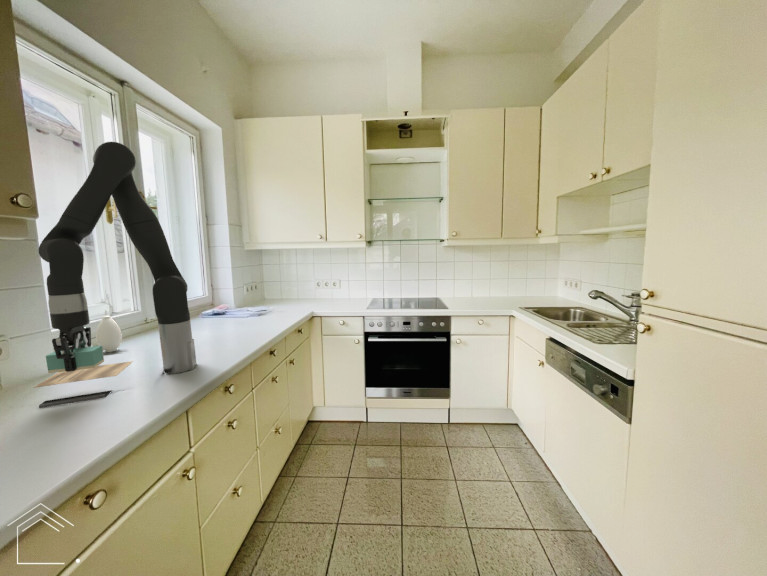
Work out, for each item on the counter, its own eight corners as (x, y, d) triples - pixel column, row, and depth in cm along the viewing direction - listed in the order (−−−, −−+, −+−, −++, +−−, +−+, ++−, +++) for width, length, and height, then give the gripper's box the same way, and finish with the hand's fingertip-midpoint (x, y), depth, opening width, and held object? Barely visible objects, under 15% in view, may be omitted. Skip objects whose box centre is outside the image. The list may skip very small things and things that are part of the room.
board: (133, 365, 111) (133, 361, 111) (117, 379, 98) (116, 375, 98) (61, 374, 104) (61, 370, 104) (34, 392, 91) (33, 387, 91)
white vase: (108, 349, 131) (102, 308, 129) (128, 348, 132) (122, 307, 130) (93, 355, 123) (87, 312, 121) (114, 354, 124) (108, 311, 122)
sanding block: (104, 361, 92) (102, 345, 91) (94, 367, 87) (92, 351, 86) (60, 366, 88) (58, 349, 87) (48, 373, 83) (45, 355, 82)
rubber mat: (119, 383, 96) (119, 381, 95) (105, 397, 86) (104, 394, 86) (61, 392, 90) (60, 389, 90) (39, 408, 81) (38, 405, 81)
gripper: (71, 313, 80) (80, 374, 82) (98, 304, 93) (105, 357, 95) (33, 316, 77) (43, 378, 79) (67, 306, 91) (74, 360, 93)
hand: (77, 366), depth 87 cm, fingers closed on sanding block, 5 cm apart
